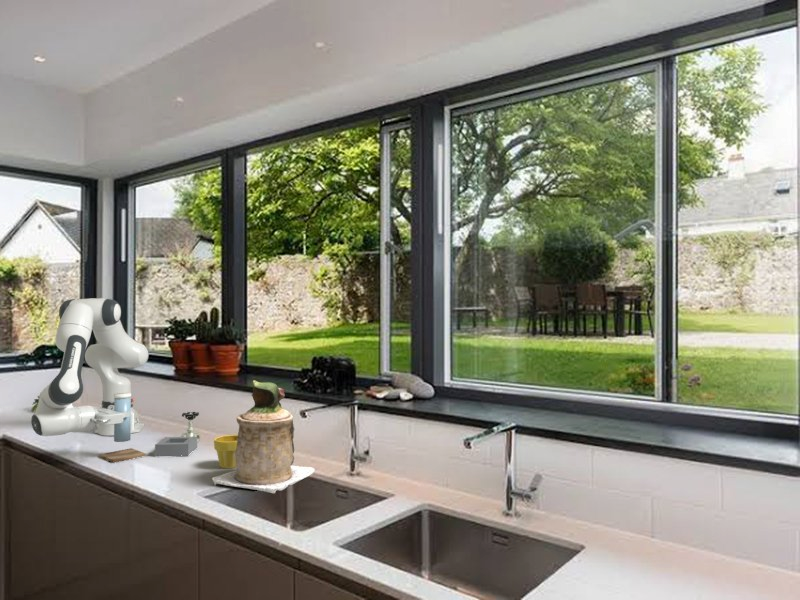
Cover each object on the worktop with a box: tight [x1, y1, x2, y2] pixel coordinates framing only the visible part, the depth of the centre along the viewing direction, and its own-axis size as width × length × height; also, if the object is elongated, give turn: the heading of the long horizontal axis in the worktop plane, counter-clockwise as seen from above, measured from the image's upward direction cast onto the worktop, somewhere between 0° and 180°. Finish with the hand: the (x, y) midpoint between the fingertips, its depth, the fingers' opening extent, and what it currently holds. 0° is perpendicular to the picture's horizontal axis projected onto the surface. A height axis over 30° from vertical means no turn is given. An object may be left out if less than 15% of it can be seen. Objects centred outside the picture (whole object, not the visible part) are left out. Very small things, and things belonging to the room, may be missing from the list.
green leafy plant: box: [30, 395, 39, 413], centre depth 310 cm, size 11×11×12 cm
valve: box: [180, 411, 201, 444], centre depth 242 cm, size 7×7×12 cm
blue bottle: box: [113, 392, 132, 443], centre depth 221 cm, size 6×6×17 cm
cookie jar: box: [211, 380, 315, 494], centre depth 194 cm, size 25×25×32 cm
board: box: [98, 447, 147, 464], centre depth 221 cm, size 12×12×1 cm
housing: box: [154, 436, 198, 457], centre depth 227 cm, size 12×12×4 cm
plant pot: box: [213, 434, 238, 469], centre depth 209 cm, size 10×10×10 cm
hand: (124, 412), depth 221 cm, fingers closed on blue bottle, 5 cm apart
